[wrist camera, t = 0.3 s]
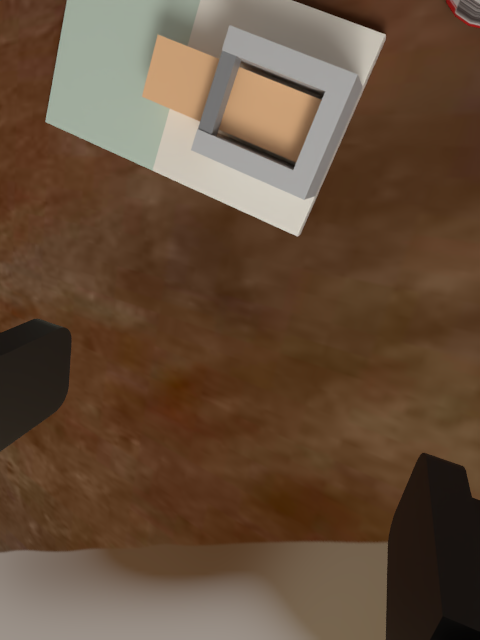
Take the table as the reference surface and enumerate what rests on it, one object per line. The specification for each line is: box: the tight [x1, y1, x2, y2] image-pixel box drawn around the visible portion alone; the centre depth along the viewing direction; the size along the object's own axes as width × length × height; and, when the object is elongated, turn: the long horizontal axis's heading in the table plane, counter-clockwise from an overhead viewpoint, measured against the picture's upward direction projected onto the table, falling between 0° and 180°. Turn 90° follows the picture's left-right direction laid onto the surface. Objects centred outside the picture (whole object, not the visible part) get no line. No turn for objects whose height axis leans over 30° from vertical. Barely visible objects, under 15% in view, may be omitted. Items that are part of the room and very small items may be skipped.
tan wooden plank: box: [142, 35, 322, 162], centre depth 32 cm, size 4×12×3 cm, turn 68°
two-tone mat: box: [45, 0, 386, 236], centre depth 32 cm, size 14×23×6 cm, turn 68°
